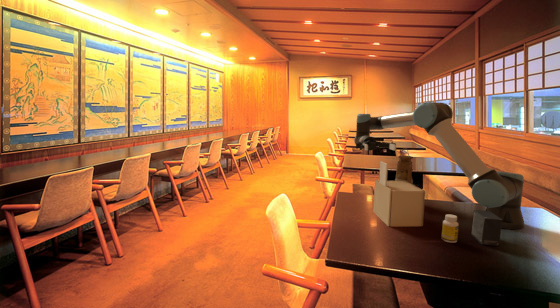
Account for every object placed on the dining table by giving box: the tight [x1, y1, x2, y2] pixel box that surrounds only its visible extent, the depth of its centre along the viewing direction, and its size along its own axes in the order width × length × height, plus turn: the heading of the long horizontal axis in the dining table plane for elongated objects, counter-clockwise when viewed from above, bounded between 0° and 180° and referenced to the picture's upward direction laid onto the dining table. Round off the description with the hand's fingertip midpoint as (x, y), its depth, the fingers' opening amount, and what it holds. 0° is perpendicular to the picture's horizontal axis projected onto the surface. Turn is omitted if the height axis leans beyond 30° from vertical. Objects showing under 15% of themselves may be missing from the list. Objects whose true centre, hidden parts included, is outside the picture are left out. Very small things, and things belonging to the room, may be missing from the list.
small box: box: [470, 209, 502, 247], centre depth 123 cm, size 11×6×10 cm, turn 168°
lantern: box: [394, 147, 414, 184], centre depth 172 cm, size 15×10×30 cm
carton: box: [387, 180, 426, 228], centre depth 145 cm, size 14×20×16 cm
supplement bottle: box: [441, 213, 460, 244], centre depth 123 cm, size 5×5×10 cm
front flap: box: [372, 160, 392, 227], centre depth 144 cm, size 1×20×26 cm, turn 2°
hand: (381, 147), depth 152 cm, fingers open, 13 cm apart
